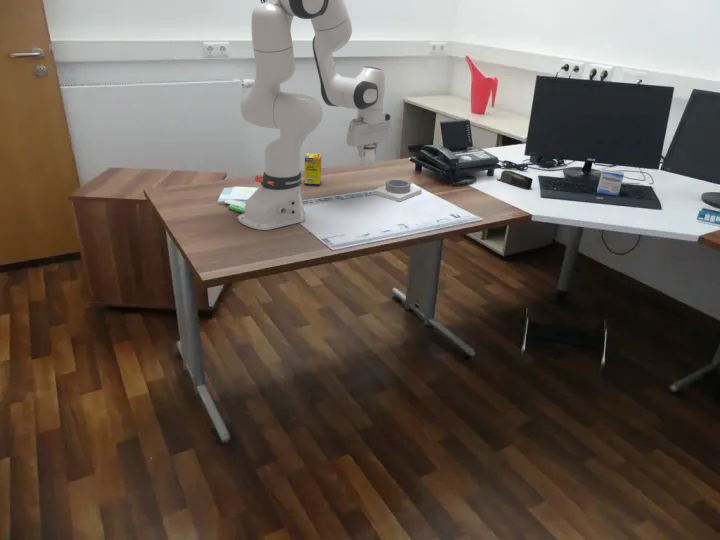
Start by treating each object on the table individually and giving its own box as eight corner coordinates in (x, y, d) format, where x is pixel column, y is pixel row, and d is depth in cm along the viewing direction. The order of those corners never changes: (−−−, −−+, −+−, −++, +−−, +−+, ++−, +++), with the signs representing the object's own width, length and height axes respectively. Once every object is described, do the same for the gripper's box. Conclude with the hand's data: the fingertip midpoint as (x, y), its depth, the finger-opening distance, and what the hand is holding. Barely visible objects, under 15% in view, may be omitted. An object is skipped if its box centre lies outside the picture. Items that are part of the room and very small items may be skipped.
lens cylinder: (367, 167, 196) (369, 147, 193) (356, 164, 199) (358, 144, 196) (376, 164, 200) (378, 145, 197) (365, 161, 202) (367, 142, 199)
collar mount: (399, 202, 199) (399, 191, 197) (373, 193, 205) (373, 183, 203) (421, 193, 208) (422, 183, 206) (396, 185, 215) (396, 175, 213)
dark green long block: (534, 177, 217) (501, 167, 226) (530, 179, 215) (497, 168, 224) (531, 189, 219) (499, 179, 228) (527, 191, 217) (495, 180, 226)
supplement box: (320, 186, 210) (320, 158, 205) (304, 185, 210) (304, 157, 205) (321, 181, 216) (321, 153, 211) (306, 180, 216) (306, 153, 211)
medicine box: (596, 193, 218) (602, 171, 214) (597, 189, 222) (602, 168, 218) (618, 196, 215) (624, 174, 211) (618, 192, 219) (623, 171, 215)
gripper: (357, 120, 183) (355, 162, 189) (394, 114, 197) (391, 153, 203) (343, 117, 186) (341, 158, 192) (380, 112, 201) (377, 150, 207)
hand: (367, 155), depth 198 cm, fingers closed on lens cylinder, 5 cm apart
